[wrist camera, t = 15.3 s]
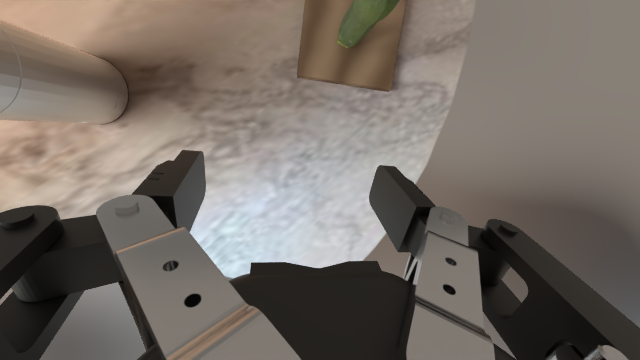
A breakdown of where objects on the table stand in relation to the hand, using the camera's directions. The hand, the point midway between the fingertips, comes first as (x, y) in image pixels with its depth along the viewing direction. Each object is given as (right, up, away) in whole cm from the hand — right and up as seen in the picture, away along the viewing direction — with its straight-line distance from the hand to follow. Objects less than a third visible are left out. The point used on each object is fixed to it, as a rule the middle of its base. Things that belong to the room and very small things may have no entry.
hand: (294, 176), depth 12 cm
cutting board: (+6, +21, +25) cm, 33 cm away
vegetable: (+6, +20, +24) cm, 32 cm away
